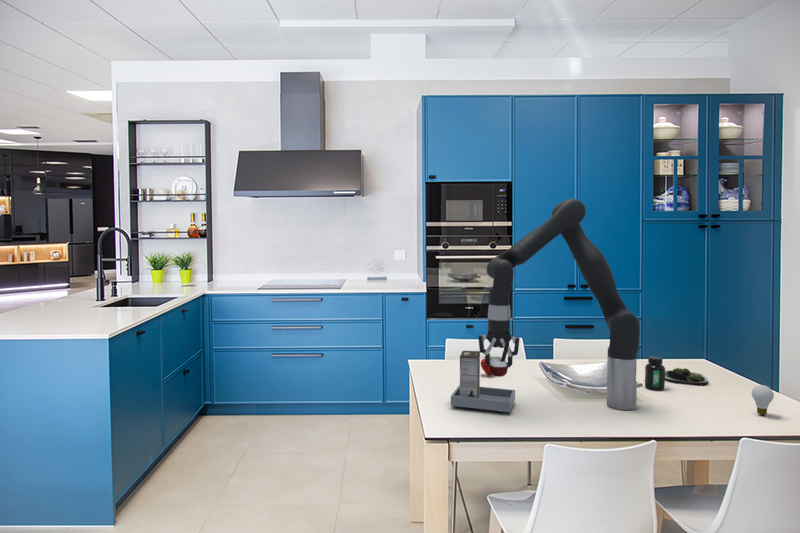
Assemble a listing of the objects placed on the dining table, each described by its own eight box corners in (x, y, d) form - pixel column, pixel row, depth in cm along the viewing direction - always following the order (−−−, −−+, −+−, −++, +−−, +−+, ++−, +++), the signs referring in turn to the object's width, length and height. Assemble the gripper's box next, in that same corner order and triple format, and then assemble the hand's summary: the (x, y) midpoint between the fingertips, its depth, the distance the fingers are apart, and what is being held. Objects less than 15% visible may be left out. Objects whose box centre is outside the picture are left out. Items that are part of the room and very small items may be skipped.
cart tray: (515, 402, 180) (515, 389, 180) (510, 415, 167) (510, 402, 167) (459, 396, 187) (459, 384, 187) (450, 409, 174) (450, 396, 173)
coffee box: (461, 394, 184) (462, 349, 183) (479, 395, 182) (480, 350, 181) (459, 402, 175) (459, 355, 174) (478, 403, 173) (478, 356, 172)
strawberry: (500, 377, 211) (500, 354, 211) (482, 378, 211) (482, 354, 210) (496, 373, 217) (496, 350, 217) (479, 374, 217) (479, 351, 216)
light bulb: (751, 411, 171) (752, 381, 171) (773, 414, 168) (774, 385, 167) (749, 415, 167) (751, 385, 166) (772, 419, 163) (773, 389, 163)
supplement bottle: (659, 392, 192) (660, 360, 191) (641, 388, 197) (642, 357, 196) (667, 388, 196) (668, 358, 195) (649, 384, 201) (650, 354, 201)
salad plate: (656, 371, 223) (656, 360, 223) (703, 375, 216) (703, 364, 216) (659, 382, 205) (659, 371, 205) (710, 388, 198) (710, 376, 198)
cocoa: (487, 373, 179) (486, 339, 179) (505, 372, 179) (503, 338, 179) (493, 379, 170) (492, 343, 169) (512, 378, 170) (510, 342, 170)
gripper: (521, 317, 175) (521, 365, 176) (480, 315, 179) (479, 361, 180) (519, 320, 168) (518, 370, 169) (476, 318, 172) (475, 367, 173)
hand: (498, 365), depth 175 cm, fingers closed on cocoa, 6 cm apart
